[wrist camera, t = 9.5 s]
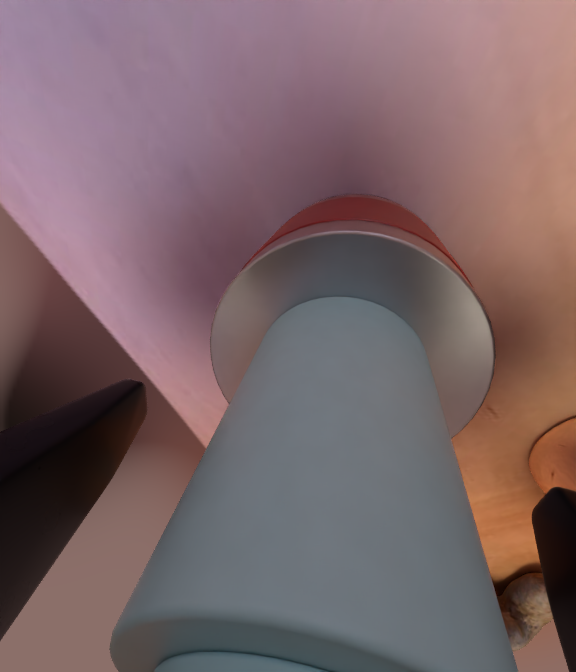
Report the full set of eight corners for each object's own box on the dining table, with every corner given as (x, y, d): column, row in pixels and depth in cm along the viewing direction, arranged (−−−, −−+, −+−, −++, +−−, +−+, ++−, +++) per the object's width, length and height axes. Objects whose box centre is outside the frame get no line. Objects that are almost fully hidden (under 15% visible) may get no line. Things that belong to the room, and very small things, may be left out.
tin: (254, 344, 18) (204, 435, 12) (273, 175, 14) (211, 198, 8) (410, 380, 17) (432, 495, 12) (480, 213, 13) (566, 267, 7)
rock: (259, 498, 21) (260, 489, 28) (233, 597, 19) (241, 562, 26) (588, 588, 21) (508, 556, 27) (592, 697, 19) (506, 635, 26)
